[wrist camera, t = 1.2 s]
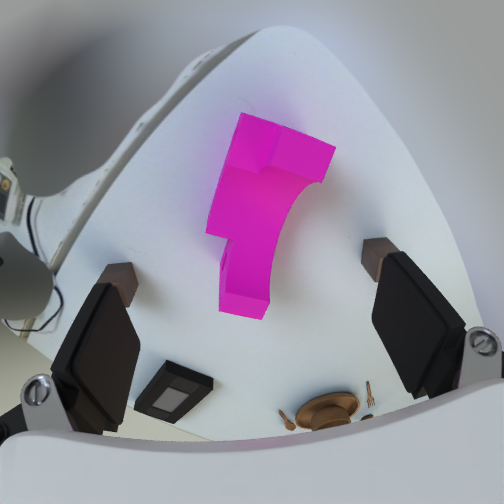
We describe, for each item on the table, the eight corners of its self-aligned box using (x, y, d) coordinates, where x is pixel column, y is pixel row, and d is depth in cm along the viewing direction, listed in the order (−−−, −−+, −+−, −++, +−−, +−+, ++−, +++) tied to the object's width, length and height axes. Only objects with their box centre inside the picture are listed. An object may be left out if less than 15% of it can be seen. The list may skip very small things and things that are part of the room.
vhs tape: (214, 378, 39) (213, 388, 37) (174, 414, 44) (173, 424, 42) (166, 359, 37) (164, 370, 35) (135, 400, 42) (133, 409, 40)
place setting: (369, 373, 42) (381, 400, 37) (375, 417, 52) (383, 438, 46) (271, 407, 44) (275, 436, 39) (300, 442, 54) (304, 464, 49)
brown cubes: (107, 264, 29) (94, 284, 26) (386, 237, 30) (403, 254, 27) (115, 286, 31) (104, 308, 27) (383, 260, 31) (398, 278, 28)
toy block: (241, 112, 23) (246, 114, 16) (307, 135, 24) (336, 147, 18) (196, 258, 30) (189, 304, 23) (254, 272, 31) (261, 319, 24)
